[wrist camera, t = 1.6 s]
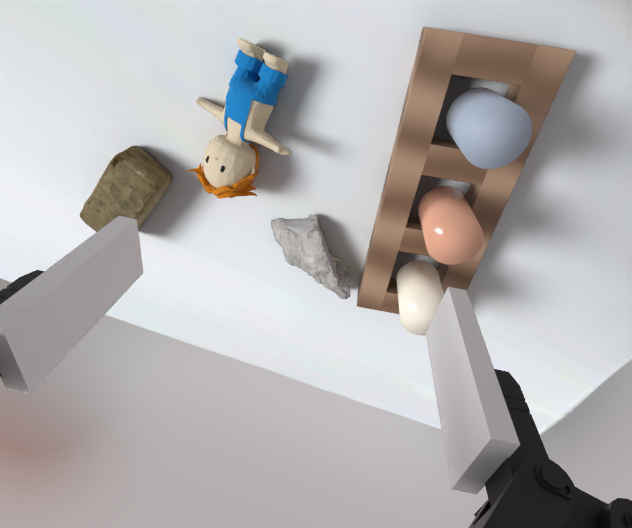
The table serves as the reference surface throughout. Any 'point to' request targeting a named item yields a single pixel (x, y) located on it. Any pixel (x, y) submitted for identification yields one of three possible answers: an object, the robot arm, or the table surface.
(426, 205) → the cap terracotta
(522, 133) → the cap slate
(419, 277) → the white rounded cylinder
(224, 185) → the toy
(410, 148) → the wooden compartment tray
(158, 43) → the table surface
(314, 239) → the stone
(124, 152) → the stone block
